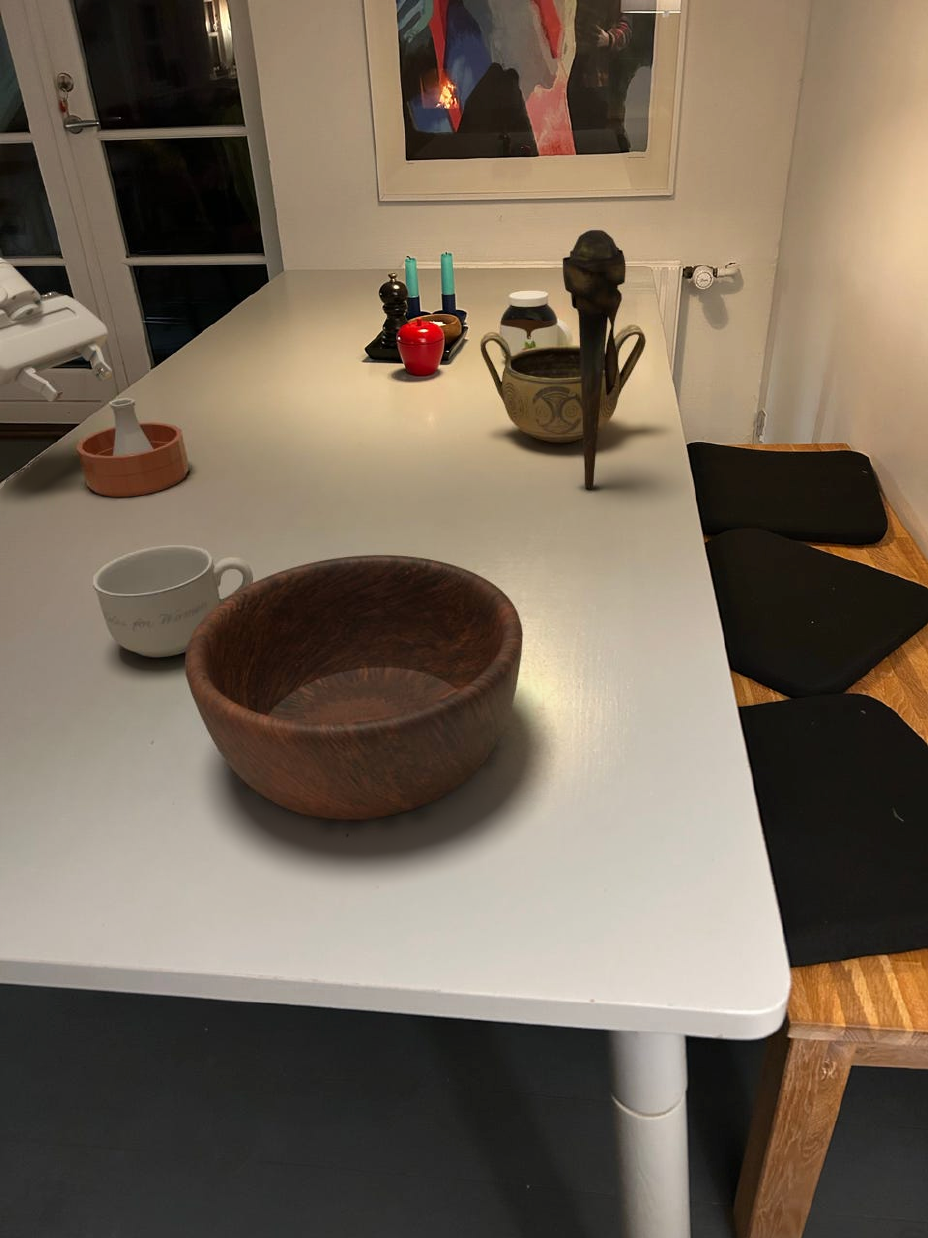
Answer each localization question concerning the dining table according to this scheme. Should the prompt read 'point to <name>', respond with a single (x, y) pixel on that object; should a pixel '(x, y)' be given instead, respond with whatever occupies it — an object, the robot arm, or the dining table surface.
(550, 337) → the spread jar
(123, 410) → the flask
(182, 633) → the teacup
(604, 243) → the decorative torch
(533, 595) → the dining table surface
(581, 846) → the dining table surface
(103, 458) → the terracotta bowl
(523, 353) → the ceramic bowl
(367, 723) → the wooden bowl
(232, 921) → the dining table surface
